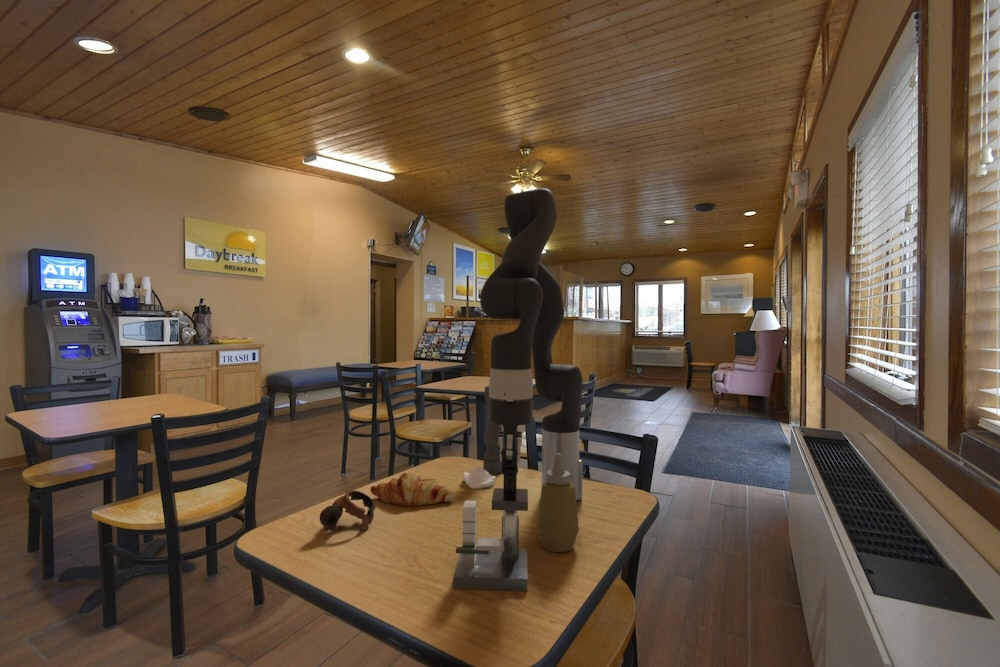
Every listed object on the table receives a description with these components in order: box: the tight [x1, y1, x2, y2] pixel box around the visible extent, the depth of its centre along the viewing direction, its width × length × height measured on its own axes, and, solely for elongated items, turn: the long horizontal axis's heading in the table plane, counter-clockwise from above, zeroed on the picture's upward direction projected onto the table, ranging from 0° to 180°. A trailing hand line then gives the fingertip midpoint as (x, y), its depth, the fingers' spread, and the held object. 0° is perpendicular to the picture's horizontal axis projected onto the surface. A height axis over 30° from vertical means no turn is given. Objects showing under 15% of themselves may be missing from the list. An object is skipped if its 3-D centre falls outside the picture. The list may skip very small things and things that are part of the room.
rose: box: [463, 466, 497, 490], centre depth 126 cm, size 10×4×10 cm
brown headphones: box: [319, 490, 376, 532], centre depth 97 cm, size 12×10×8 cm
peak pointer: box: [455, 546, 489, 554], centre depth 77 cm, size 6×1×1 cm, turn 87°
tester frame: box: [453, 500, 529, 592], centre depth 79 cm, size 12×10×12 cm
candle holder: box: [482, 384, 503, 475], centre depth 136 cm, size 6×6×25 cm
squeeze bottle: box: [537, 453, 580, 553], centre depth 90 cm, size 8×8×18 cm
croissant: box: [370, 472, 455, 507], centre depth 113 cm, size 21×10×8 cm, turn 85°
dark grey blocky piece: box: [476, 487, 529, 556], centre depth 79 cm, size 8×6×10 cm
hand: (509, 494), depth 79 cm, fingers closed
